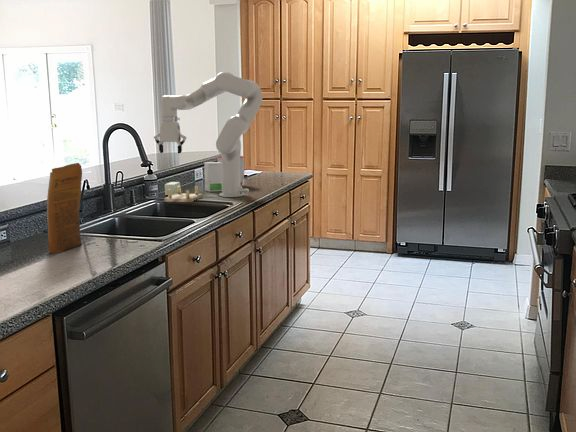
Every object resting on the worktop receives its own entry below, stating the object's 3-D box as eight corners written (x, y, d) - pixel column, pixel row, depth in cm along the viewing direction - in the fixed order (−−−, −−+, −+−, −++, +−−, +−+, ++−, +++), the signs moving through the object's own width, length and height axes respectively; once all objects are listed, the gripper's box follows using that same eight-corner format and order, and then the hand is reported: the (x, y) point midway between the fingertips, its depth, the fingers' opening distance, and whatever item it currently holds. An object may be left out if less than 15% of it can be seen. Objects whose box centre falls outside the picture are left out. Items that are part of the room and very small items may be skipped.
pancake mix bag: (93, 242, 216) (88, 162, 211) (57, 255, 198) (51, 168, 193) (77, 241, 218) (71, 161, 213) (40, 254, 200) (33, 167, 195)
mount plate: (202, 196, 318) (201, 186, 317) (191, 202, 301) (191, 190, 300) (176, 196, 320) (175, 185, 319) (164, 201, 303) (163, 190, 302)
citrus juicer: (247, 184, 365) (247, 149, 361) (242, 188, 348) (241, 152, 344) (221, 183, 366) (220, 149, 363) (215, 187, 349) (214, 152, 346)
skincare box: (208, 192, 334) (208, 163, 331) (204, 190, 339) (203, 162, 336) (223, 190, 338) (222, 162, 335) (218, 189, 343) (217, 161, 340)
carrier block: (180, 193, 331) (179, 182, 330) (174, 196, 322) (173, 184, 320) (171, 193, 332) (170, 181, 331) (165, 195, 322) (164, 184, 321)
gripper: (188, 119, 322) (188, 152, 325) (156, 119, 325) (157, 152, 328) (183, 120, 315) (184, 154, 318) (150, 119, 317) (152, 153, 320)
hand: (170, 153), depth 323 cm, fingers open, 9 cm apart
